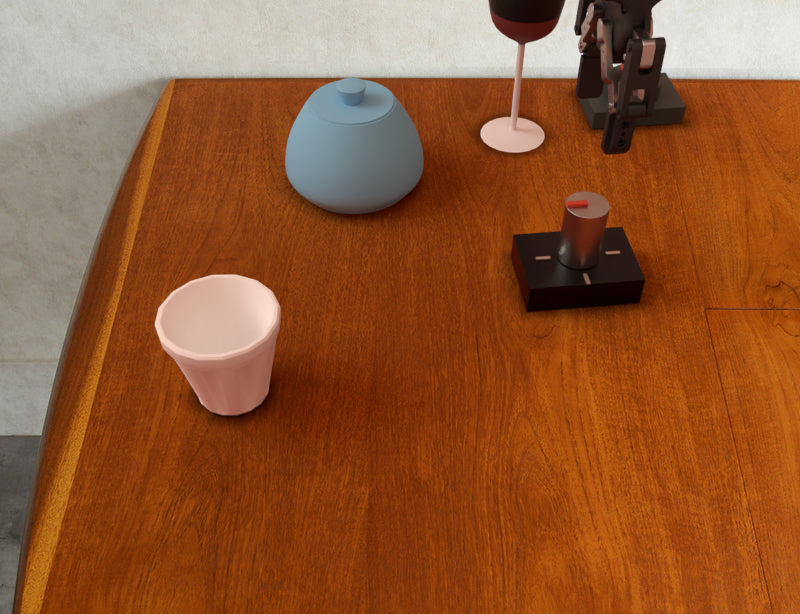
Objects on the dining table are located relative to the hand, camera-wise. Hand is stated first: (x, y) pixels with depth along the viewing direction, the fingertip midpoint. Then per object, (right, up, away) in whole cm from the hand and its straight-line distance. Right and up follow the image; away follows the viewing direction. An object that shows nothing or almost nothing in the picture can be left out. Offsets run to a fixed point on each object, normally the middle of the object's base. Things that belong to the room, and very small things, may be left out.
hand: (600, 122), depth 75 cm
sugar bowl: (-22, +1, +24) cm, 33 cm away
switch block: (+11, +12, +34) cm, 37 cm away
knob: (0, -9, +11) cm, 14 cm away
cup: (-31, -23, +4) cm, 39 cm away
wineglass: (-4, +8, +30) cm, 31 cm away
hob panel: (0, -11, +13) cm, 17 cm away
